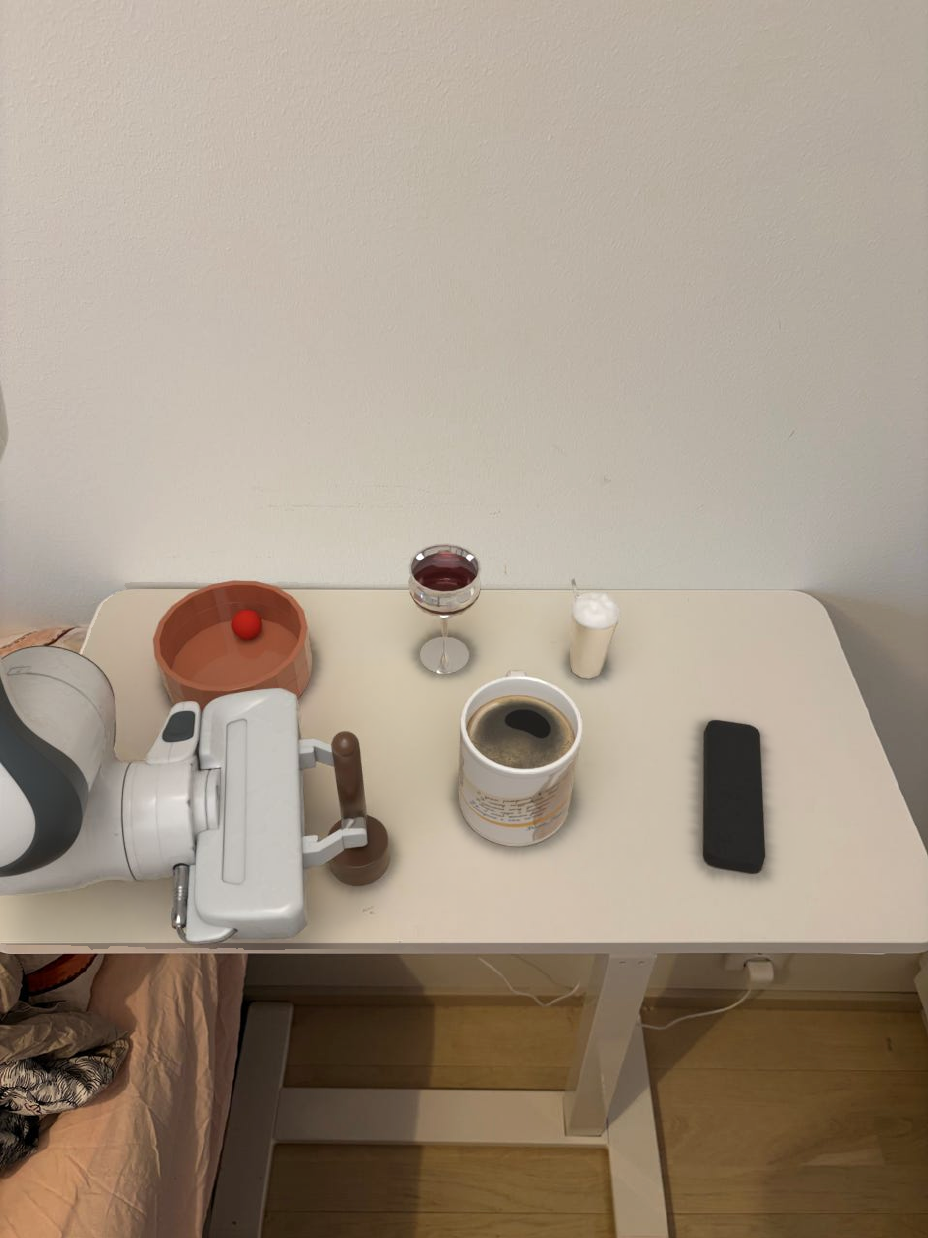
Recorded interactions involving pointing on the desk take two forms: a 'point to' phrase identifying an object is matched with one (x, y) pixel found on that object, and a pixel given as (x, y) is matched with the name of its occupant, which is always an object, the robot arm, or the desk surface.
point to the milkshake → (591, 631)
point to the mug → (518, 759)
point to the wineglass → (444, 598)
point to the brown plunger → (374, 856)
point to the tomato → (246, 624)
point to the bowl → (232, 643)
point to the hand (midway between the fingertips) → (363, 794)
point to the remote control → (733, 797)
